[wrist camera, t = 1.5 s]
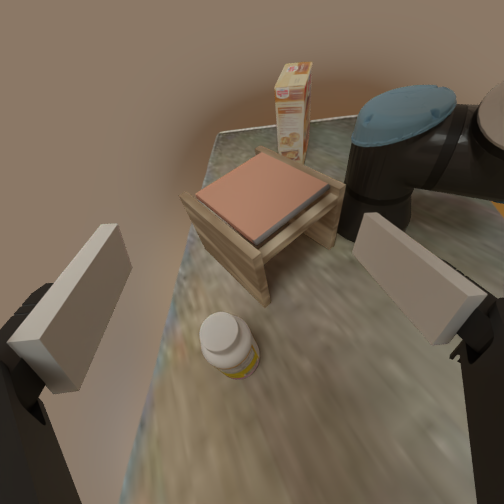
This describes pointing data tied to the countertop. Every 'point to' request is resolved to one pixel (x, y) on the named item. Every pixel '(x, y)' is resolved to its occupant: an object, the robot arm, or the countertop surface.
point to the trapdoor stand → (252, 260)
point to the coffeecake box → (293, 110)
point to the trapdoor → (261, 196)
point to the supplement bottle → (229, 345)
